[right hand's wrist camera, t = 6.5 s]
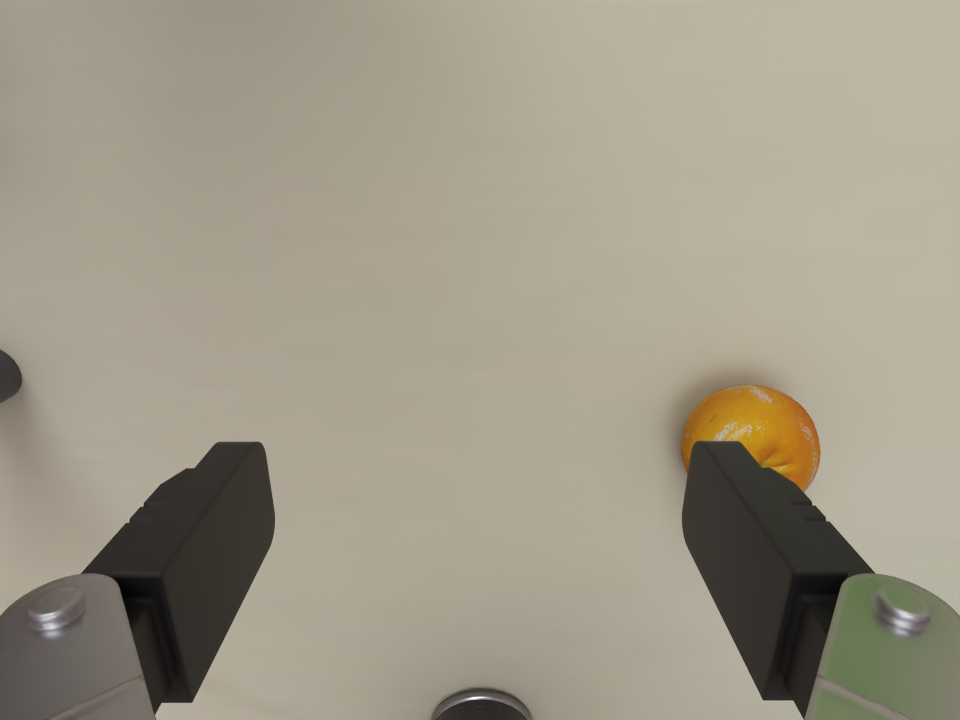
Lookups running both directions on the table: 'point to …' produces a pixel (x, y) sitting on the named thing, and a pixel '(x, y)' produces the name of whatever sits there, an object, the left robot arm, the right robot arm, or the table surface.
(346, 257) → the table surface
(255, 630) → the table surface
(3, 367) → the dark cylinder
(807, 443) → the fruit
